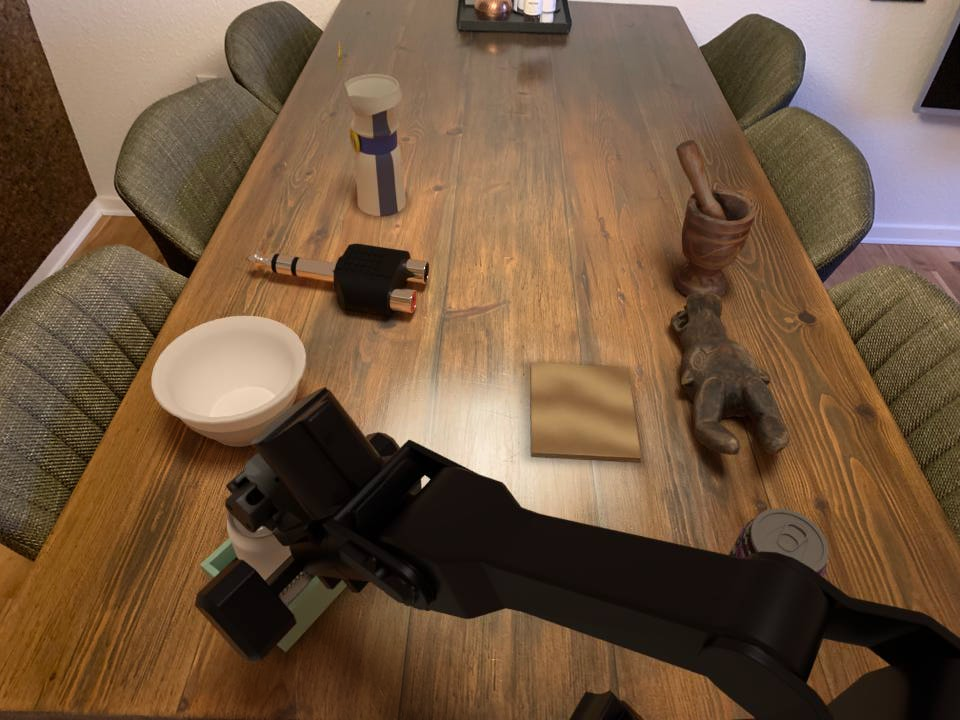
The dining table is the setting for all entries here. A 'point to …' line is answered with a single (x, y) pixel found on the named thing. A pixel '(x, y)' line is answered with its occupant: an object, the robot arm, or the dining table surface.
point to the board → (582, 412)
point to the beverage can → (784, 538)
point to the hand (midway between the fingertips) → (279, 536)
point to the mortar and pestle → (709, 228)
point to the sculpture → (723, 380)
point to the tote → (302, 606)
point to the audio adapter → (358, 276)
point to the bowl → (230, 376)
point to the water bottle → (376, 143)
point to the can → (258, 548)
